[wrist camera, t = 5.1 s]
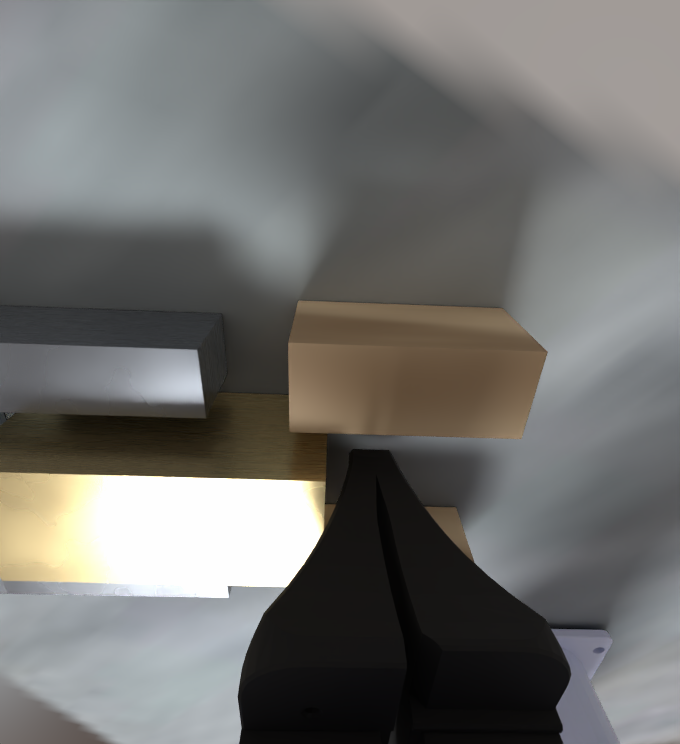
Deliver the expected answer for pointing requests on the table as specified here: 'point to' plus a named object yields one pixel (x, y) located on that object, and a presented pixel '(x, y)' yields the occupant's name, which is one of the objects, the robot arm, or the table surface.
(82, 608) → the table surface
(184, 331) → the cradle
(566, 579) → the table surface
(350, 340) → the beam
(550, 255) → the table surface
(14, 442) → the block
